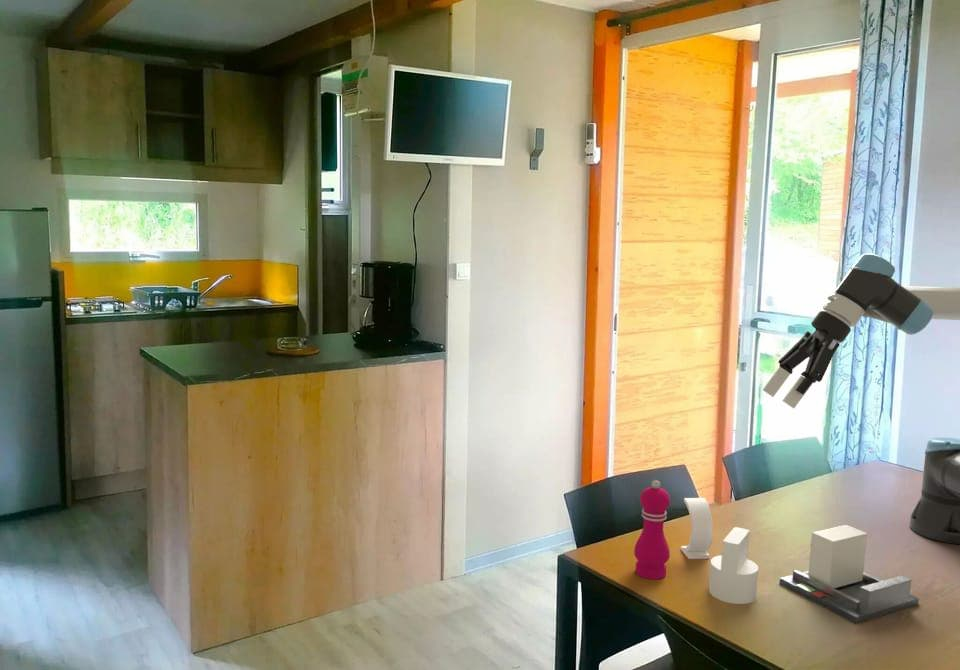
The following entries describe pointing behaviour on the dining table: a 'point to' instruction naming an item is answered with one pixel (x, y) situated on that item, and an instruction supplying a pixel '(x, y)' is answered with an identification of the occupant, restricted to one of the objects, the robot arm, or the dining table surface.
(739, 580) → the base with upright slab
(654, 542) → the pepper mill
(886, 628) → the dining table surface
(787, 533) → the dining table surface
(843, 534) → the white block
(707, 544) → the headphone stand
